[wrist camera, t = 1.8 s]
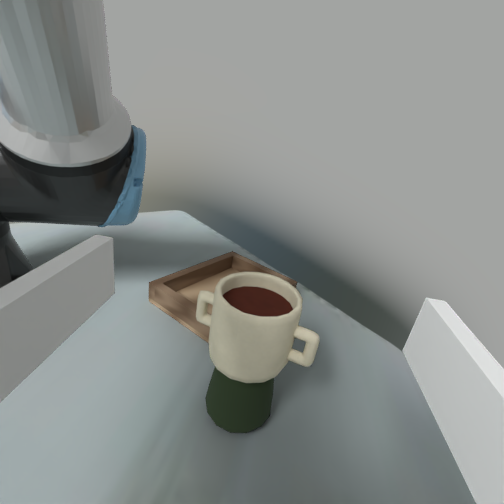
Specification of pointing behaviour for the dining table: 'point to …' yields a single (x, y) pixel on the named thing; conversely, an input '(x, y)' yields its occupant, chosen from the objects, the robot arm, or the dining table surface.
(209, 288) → the wooden tray
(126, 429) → the dining table surface
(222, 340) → the character mug
